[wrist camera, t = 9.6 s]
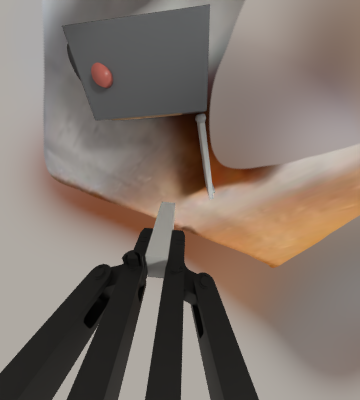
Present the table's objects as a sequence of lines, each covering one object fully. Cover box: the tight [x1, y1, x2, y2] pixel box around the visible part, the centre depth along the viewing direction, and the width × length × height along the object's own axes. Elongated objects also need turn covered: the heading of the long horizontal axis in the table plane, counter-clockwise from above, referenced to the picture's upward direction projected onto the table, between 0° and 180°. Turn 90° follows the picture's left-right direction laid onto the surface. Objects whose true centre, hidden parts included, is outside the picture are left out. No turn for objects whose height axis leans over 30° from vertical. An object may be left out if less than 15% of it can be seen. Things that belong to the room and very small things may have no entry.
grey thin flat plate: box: [195, 114, 215, 199], centre depth 29 cm, size 17×2×7 cm, turn 13°
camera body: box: [62, 5, 210, 120], centre depth 22 cm, size 20×10×10 cm, turn 94°
